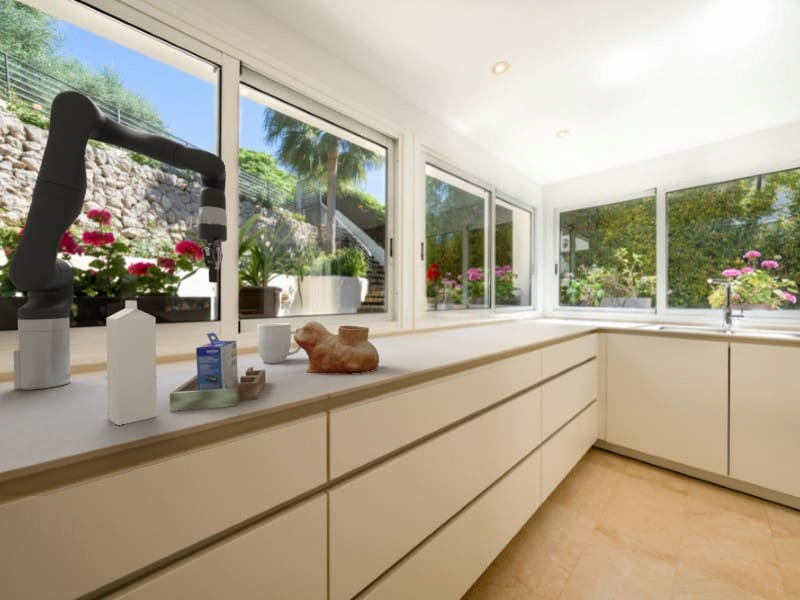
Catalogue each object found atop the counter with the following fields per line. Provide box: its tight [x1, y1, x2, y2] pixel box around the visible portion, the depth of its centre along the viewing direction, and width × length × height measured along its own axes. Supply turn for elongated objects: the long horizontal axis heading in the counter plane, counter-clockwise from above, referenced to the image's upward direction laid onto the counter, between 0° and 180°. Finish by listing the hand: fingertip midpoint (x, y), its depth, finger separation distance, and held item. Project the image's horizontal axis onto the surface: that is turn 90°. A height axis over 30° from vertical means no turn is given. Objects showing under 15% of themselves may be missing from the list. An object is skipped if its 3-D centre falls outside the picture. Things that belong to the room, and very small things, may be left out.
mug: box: [256, 322, 302, 364], centre depth 121 cm, size 15×11×13 cm
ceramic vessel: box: [293, 320, 380, 375], centre depth 107 cm, size 14×26×15 cm, turn 87°
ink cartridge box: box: [195, 332, 239, 391], centre depth 79 cm, size 10×6×14 cm, turn 7°
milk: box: [105, 300, 158, 426], centre depth 65 cm, size 6×6×22 cm
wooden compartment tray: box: [169, 366, 266, 412], centre depth 82 cm, size 16×23×4 cm
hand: (213, 282), depth 105 cm, fingers closed
